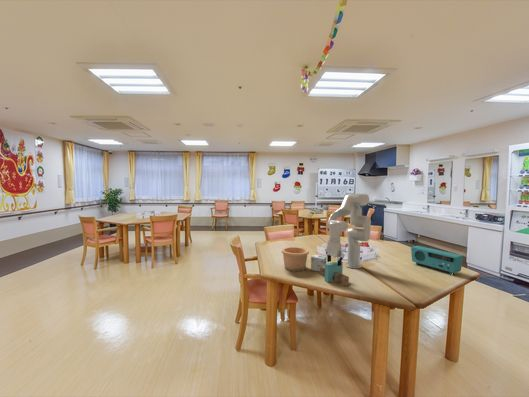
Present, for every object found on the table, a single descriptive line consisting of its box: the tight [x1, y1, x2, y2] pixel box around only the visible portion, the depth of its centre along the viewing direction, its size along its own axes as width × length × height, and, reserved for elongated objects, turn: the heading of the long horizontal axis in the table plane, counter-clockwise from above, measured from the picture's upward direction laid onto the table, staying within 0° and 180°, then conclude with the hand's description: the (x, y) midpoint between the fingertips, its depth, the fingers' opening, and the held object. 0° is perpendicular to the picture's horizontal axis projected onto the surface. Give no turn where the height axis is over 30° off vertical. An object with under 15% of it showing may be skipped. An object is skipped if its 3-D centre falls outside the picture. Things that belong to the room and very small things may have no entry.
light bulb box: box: [310, 254, 327, 272], centre depth 188 cm, size 11×7×11 cm, turn 59°
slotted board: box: [319, 266, 350, 287], centre depth 168 cm, size 24×3×6 cm, turn 29°
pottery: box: [281, 246, 310, 272], centre depth 193 cm, size 22×22×14 cm
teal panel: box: [324, 260, 344, 283], centre depth 168 cm, size 14×3×12 cm, turn 120°
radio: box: [410, 245, 464, 275], centre depth 192 cm, size 34×10×15 cm, turn 27°
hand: (334, 263), depth 168 cm, fingers open, 9 cm apart
